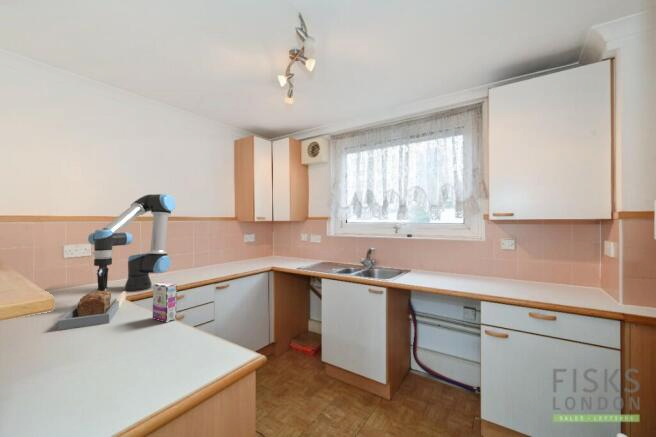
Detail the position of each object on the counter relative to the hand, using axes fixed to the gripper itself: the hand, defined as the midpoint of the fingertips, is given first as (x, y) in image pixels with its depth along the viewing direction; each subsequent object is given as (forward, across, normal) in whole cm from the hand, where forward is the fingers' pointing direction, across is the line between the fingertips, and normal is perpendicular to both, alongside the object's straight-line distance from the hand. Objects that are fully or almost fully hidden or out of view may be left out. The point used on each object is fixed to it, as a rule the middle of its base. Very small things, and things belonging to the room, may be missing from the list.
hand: (102, 301), depth 147 cm
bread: (+3, +12, 0) cm, 12 cm away
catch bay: (+2, +10, 0) cm, 11 cm away
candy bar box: (+2, +40, +30) cm, 51 cm away
